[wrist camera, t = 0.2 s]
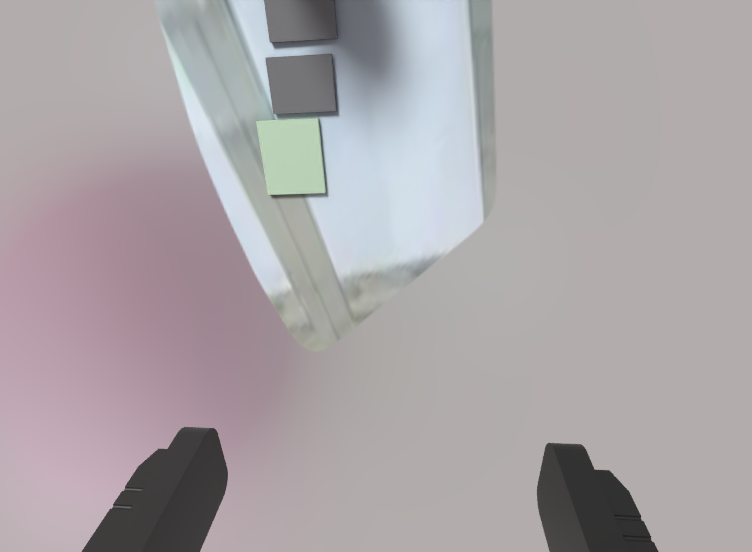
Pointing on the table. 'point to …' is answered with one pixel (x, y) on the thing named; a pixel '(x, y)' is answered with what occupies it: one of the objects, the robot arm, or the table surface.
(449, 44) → the table surface
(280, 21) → the track
